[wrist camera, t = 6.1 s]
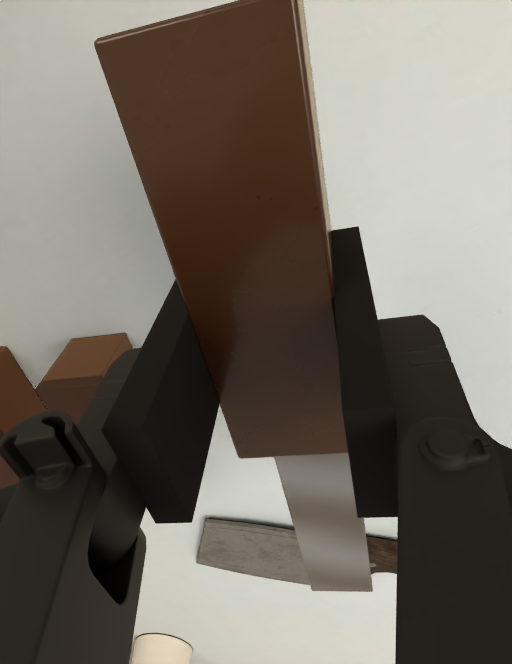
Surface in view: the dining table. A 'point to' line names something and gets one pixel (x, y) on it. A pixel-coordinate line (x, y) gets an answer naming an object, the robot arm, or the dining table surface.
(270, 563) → the cleaver
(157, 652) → the cup
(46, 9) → the dining table surface
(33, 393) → the cake
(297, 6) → the knife
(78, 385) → the cake slice
